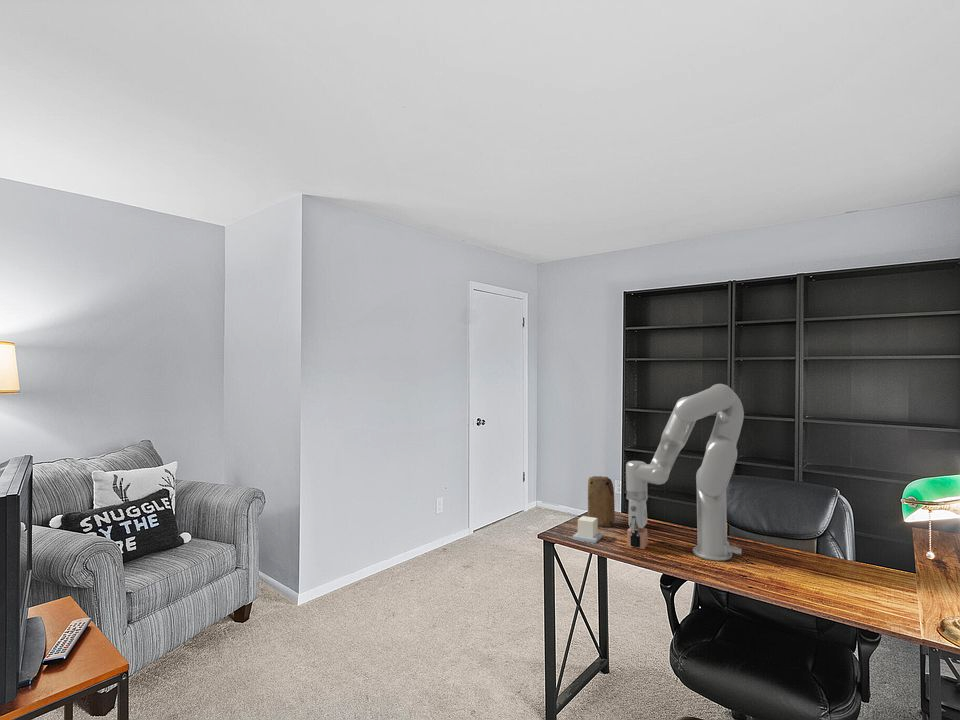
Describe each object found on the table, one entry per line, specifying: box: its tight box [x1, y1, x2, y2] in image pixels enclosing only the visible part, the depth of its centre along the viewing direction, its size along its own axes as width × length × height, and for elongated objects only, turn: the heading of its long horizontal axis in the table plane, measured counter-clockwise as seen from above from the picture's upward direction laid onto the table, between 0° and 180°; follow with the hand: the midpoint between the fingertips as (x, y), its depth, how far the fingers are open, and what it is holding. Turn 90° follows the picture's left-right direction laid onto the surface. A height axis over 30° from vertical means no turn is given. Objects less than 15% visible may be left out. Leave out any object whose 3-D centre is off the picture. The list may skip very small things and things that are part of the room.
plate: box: [572, 531, 603, 544], centre depth 200 cm, size 9×9×1 cm
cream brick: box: [577, 515, 599, 538], centre depth 200 cm, size 6×6×6 cm
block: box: [587, 475, 616, 528], centre depth 217 cm, size 11×8×20 cm
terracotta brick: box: [626, 526, 649, 550], centre depth 191 cm, size 6×6×6 cm
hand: (637, 543), depth 191 cm, fingers closed on terracotta brick, 6 cm apart
